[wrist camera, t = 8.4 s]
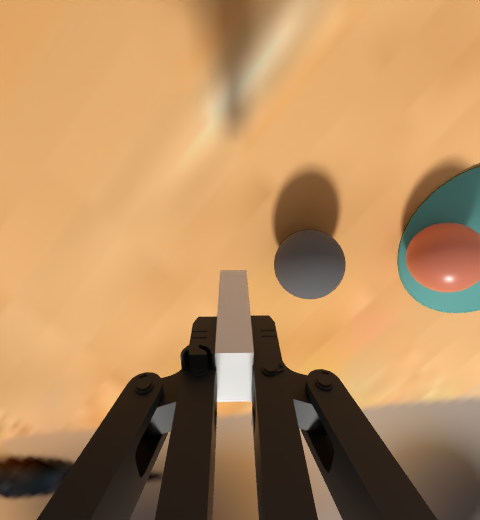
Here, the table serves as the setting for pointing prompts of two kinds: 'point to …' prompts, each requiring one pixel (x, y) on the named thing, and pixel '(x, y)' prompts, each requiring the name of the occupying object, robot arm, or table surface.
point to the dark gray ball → (309, 264)
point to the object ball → (445, 257)
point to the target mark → (445, 211)
